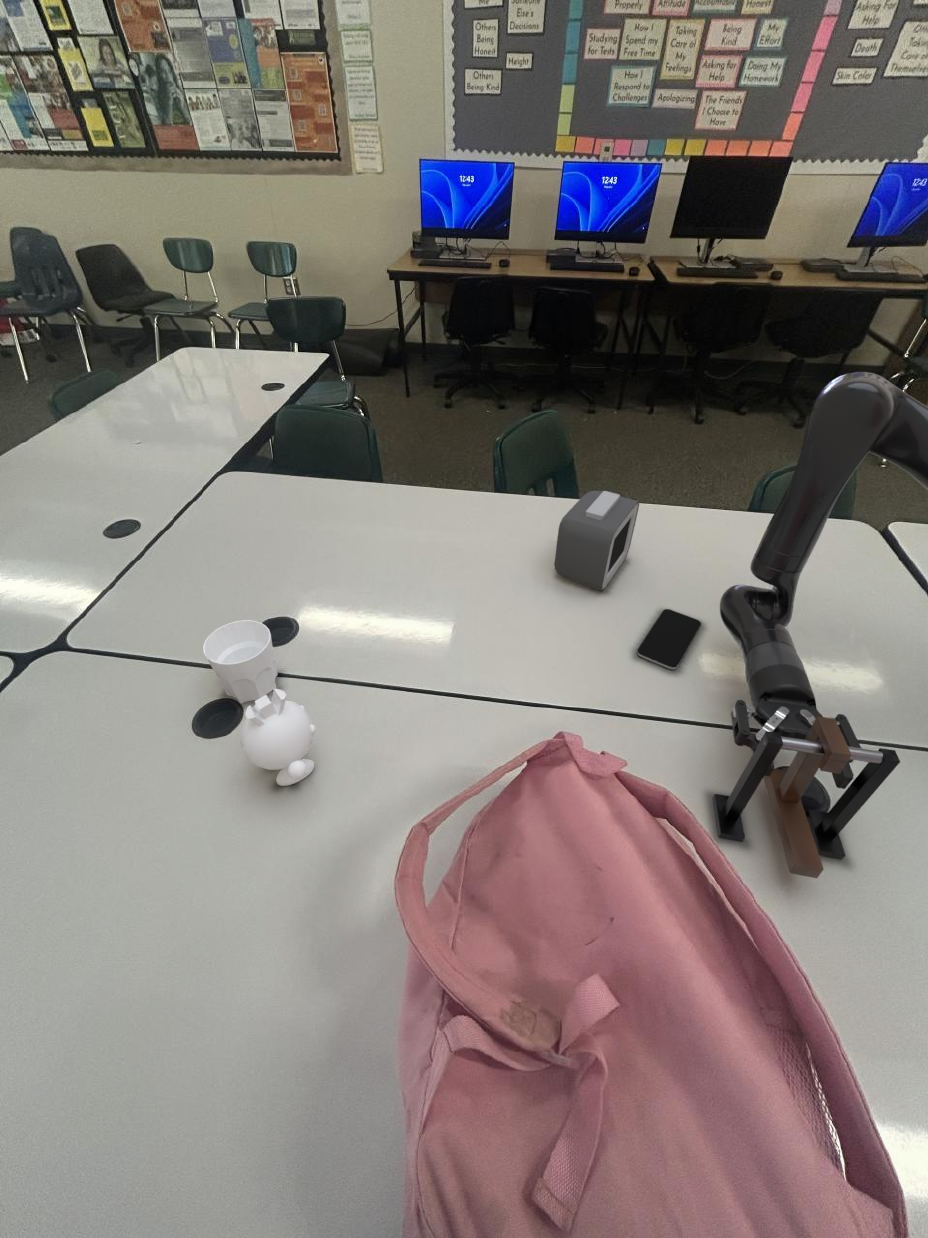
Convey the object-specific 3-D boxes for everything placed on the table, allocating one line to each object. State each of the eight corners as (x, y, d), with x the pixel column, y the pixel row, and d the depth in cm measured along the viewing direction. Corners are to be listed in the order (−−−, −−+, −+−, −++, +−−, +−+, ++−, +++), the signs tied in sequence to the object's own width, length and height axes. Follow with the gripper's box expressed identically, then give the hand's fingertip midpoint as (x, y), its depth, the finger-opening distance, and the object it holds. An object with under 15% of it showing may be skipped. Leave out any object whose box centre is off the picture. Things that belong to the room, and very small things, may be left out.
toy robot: (343, 787, 79) (326, 720, 69) (278, 824, 75) (250, 759, 65) (300, 719, 88) (279, 651, 79) (239, 749, 84) (210, 681, 74)
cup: (296, 678, 95) (284, 635, 88) (248, 717, 89) (231, 673, 82) (256, 655, 99) (242, 612, 93) (208, 690, 93) (189, 647, 86)
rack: (828, 816, 76) (894, 735, 64) (842, 859, 71) (915, 780, 60) (712, 797, 78) (755, 715, 66) (718, 837, 73) (765, 757, 62)
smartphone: (703, 621, 105) (676, 669, 95) (702, 624, 105) (675, 671, 96) (664, 607, 108) (635, 652, 98) (663, 610, 108) (634, 654, 99)
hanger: (786, 781, 76) (831, 700, 67) (817, 878, 65) (876, 797, 56) (762, 777, 77) (804, 696, 68) (789, 873, 65) (843, 792, 56)
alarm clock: (600, 596, 112) (613, 528, 101) (548, 578, 116) (556, 512, 106) (627, 556, 122) (642, 491, 112) (579, 541, 127) (589, 477, 116)
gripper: (732, 655, 78) (754, 750, 66) (843, 670, 76) (886, 770, 64) (716, 691, 83) (734, 786, 71) (820, 706, 81) (856, 806, 69)
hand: (806, 778), depth 68 cm, fingers open, 8 cm apart
